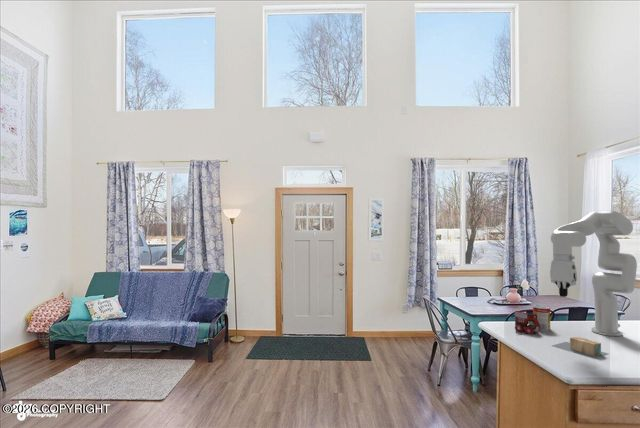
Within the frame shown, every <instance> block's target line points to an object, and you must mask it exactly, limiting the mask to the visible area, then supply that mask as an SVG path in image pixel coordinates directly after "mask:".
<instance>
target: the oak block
mask: <svg viewBox="0 0 640 428" xmlns="http://www.w3.org/2000/svg"><path fill="white" fill-rule="evenodd" d="M569 343H570V349H573V350H576V351H579V352H583V353H586V354H590V355H593V356H597V355H600V354H601V352H602V342H599V341H596V340H592V339H588V338H585V337H580V336H576V335H575V336H572V337H569Z"/></svg>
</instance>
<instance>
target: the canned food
mask: <svg viewBox="0 0 640 428" xmlns="http://www.w3.org/2000/svg"><path fill="white" fill-rule="evenodd" d="M532 308H533V309H532V314H534V317H536V318H537V320H538V322H539V324H540V332H541V331H550V330H551V307H550V306H546V305H541V304H539V305H538V304H536V305H533V306H532Z"/></svg>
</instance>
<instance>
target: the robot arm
mask: <svg viewBox="0 0 640 428" xmlns="http://www.w3.org/2000/svg"><path fill="white" fill-rule="evenodd" d="M633 230H634V225H633V222H632V221H631V220H630V219H629V218H627V217H626V216H625V215H624V214H622V213H621V212H619V211H616V210H597V211H596V210H594V211H591V212H589V213H587V214H586V215H585V216H584V217H582V218H581V219H580V220H577V221H575V222H574V221H573V222H572V223H567V224H564V225H561V226H559V227H557V228H556V229H555V230H554V231H552V233H551V235H550V241H551V244H552V258H553V259H552V260H551V262H550V263H551V264H550V271H549V273H550V275H549V277H550V282H551V283H553V284H555V285H556V286H557V288H558V293H559V294H558V295H559V297H563V298H566V297H568V294H569V293H568V290H569V288H570V287H572V286H576V285H577V281H578V274H577V267H576V263H575V261H574V260H575V259H576V257H575V255H573V248H577V247H578V248H580V247H582V246H584V245H585V244H586V242H587V236H591V235H594V234H595V235H596V237H597V240H598V242H599V246H598V247H599V249H598V256H597V257H598V258H597V266H598V268H599V269H601V270H603V272H601V271H599V272H595V273H594V274H592V276H591V284H592V288H593V292H594V293H593V294H594V326H593V327H591V331H592V332H593V333H596V334H597V335H603V336H609V337H621V336H622V335H623V332H622V331H620V330H619V328H621V324H620V323H619V313H618V311H619V310H618V309H619V306H618V298H617V297H616V295H615V293H619V294H628V295H629V294H633V292H634V291H635V287H636V286H635V285H636V279H637V278H636V277H637V269H638V268H637V267H638V263H637V259H636V257H635V256H634V255H632V254H630V253H622V252H621V253H620V251H621V250H620V249H621V244H620V241H619V240H618V239H617V238H616V237H615V236H629V235H630V234H632V233H633ZM604 270H605V271H610V272H605V271H604ZM613 272H620V273H621V274H620V273H613Z"/></svg>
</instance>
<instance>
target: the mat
mask: <svg viewBox="0 0 640 428" xmlns="http://www.w3.org/2000/svg"><path fill="white" fill-rule="evenodd" d="M551 347H553V348H557V349H561V350H564V351H568V352H570V353H574V354H578V355H579V356H580V355H581V356H584V357H588V358H591V359H598V358H601V357H604V356H607V355H609V353H608V352H604V351H601V354H600V355H597V356H593V355H590V354H586V353H583V352H579V351H576V350H573V349H570V341H569V342H568V341H564V342H561V343H557V344H553V345H551Z"/></svg>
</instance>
